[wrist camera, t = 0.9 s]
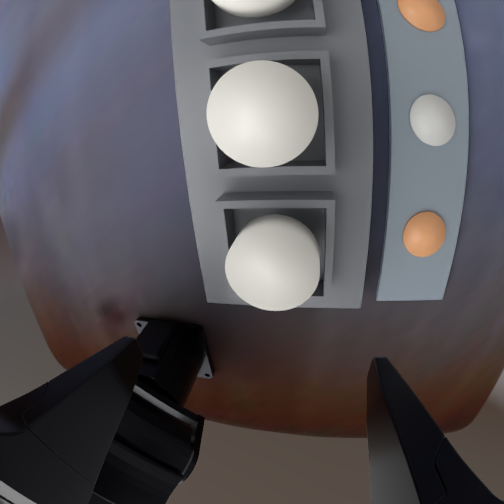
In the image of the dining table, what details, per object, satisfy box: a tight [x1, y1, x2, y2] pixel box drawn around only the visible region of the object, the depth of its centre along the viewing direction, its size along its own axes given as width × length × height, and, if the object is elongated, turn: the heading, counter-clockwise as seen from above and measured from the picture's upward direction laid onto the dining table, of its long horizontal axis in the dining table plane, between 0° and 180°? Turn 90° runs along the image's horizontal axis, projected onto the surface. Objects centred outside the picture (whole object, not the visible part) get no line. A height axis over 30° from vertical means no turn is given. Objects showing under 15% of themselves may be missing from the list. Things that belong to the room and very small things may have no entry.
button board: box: [170, 0, 373, 308], centre depth 14 cm, size 23×10×4 cm, turn 5°
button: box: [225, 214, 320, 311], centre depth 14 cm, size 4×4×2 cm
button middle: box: [206, 60, 318, 168], centre depth 11 cm, size 4×4×2 cm
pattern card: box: [376, 0, 469, 301], centre depth 13 cm, size 24×5×1 cm, turn 5°
